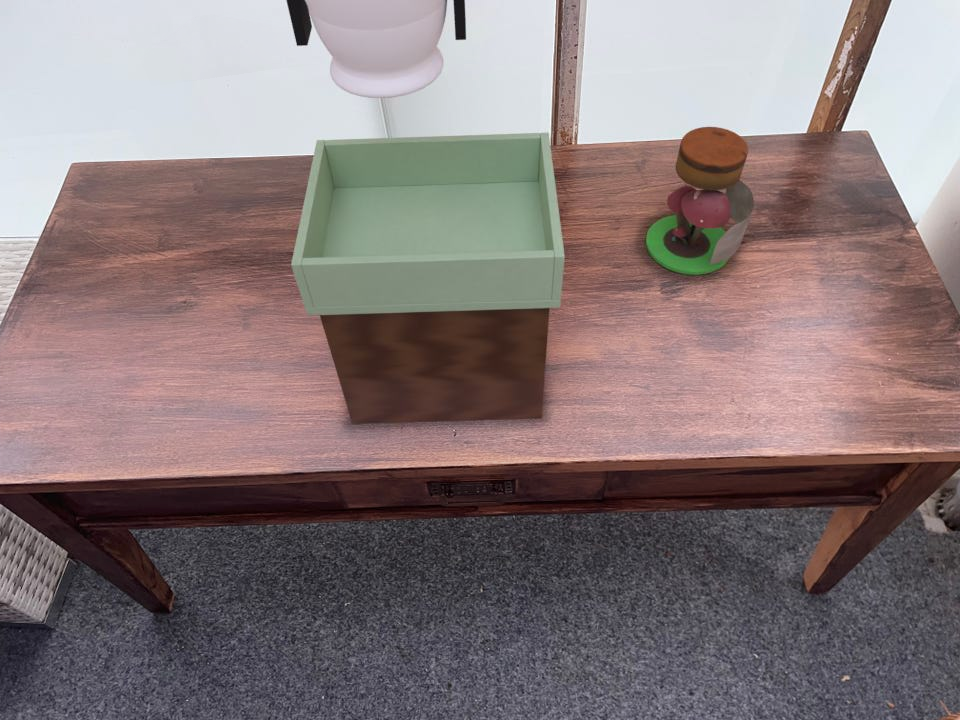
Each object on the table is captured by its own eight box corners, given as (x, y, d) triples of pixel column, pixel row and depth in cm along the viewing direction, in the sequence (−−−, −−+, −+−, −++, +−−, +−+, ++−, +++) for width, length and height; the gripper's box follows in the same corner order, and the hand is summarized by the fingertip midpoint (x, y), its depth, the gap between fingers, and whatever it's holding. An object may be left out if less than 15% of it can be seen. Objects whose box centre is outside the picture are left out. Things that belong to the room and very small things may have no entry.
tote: (545, 184, 72) (548, 132, 67) (560, 308, 61) (564, 256, 57) (328, 191, 72) (316, 139, 67) (307, 315, 62) (290, 264, 57)
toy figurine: (643, 281, 88) (664, 181, 76) (640, 213, 96) (659, 113, 84) (742, 287, 87) (780, 186, 75) (731, 218, 95) (764, 117, 83)
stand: (532, 312, 85) (538, 190, 71) (541, 418, 76) (550, 301, 62) (363, 317, 86) (336, 196, 71) (352, 424, 76) (317, 308, 62)
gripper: (554, -428, 37) (538, 2, 55) (108, -411, 37) (233, 14, 55) (569, -411, 33) (546, 54, 50) (59, -391, 33) (212, 66, 50)
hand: (382, 33), depth 52 cm, fingers closed on jar, 11 cm apart
